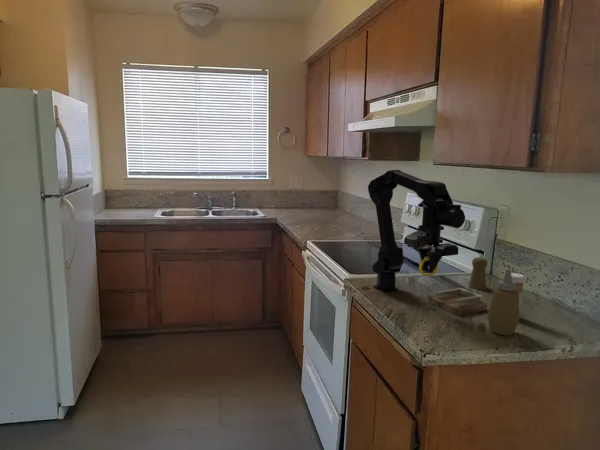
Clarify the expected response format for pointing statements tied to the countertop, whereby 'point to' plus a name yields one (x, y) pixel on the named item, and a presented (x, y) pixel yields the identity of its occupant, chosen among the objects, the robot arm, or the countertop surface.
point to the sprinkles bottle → (518, 285)
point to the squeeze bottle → (504, 307)
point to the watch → (422, 264)
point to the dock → (458, 301)
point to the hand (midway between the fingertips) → (428, 271)
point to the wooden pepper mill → (478, 274)
